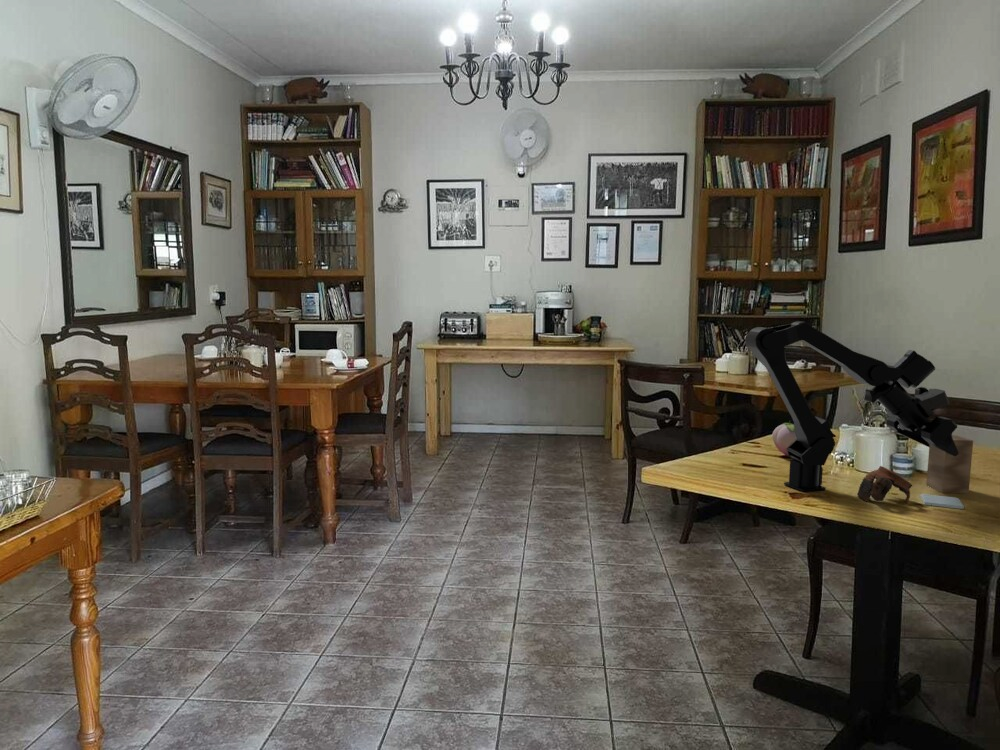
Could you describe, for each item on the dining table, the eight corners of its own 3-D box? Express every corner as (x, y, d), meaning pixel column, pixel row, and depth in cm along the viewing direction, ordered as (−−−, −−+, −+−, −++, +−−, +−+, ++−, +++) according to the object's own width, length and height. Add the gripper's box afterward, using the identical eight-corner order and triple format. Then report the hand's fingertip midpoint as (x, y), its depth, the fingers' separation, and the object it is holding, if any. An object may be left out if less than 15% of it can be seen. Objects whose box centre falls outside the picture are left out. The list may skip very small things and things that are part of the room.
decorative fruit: (811, 460, 192) (813, 423, 191) (781, 460, 192) (783, 423, 191) (796, 452, 202) (798, 417, 201) (767, 452, 202) (769, 417, 200)
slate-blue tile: (924, 504, 152) (924, 501, 152) (920, 496, 158) (920, 493, 158) (963, 509, 149) (963, 506, 149) (957, 500, 156) (958, 497, 156)
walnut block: (941, 492, 162) (946, 440, 160) (926, 485, 168) (930, 434, 166) (968, 493, 162) (973, 440, 160) (951, 486, 168) (956, 435, 166)
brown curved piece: (854, 493, 162) (876, 463, 161) (895, 519, 157) (918, 488, 156) (850, 492, 152) (873, 459, 151) (893, 519, 147) (918, 486, 146)
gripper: (951, 382, 153) (999, 433, 154) (902, 372, 171) (945, 418, 172) (911, 418, 154) (959, 469, 155) (867, 405, 172) (910, 451, 173)
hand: (944, 450), depth 164 cm, fingers open, 9 cm apart
